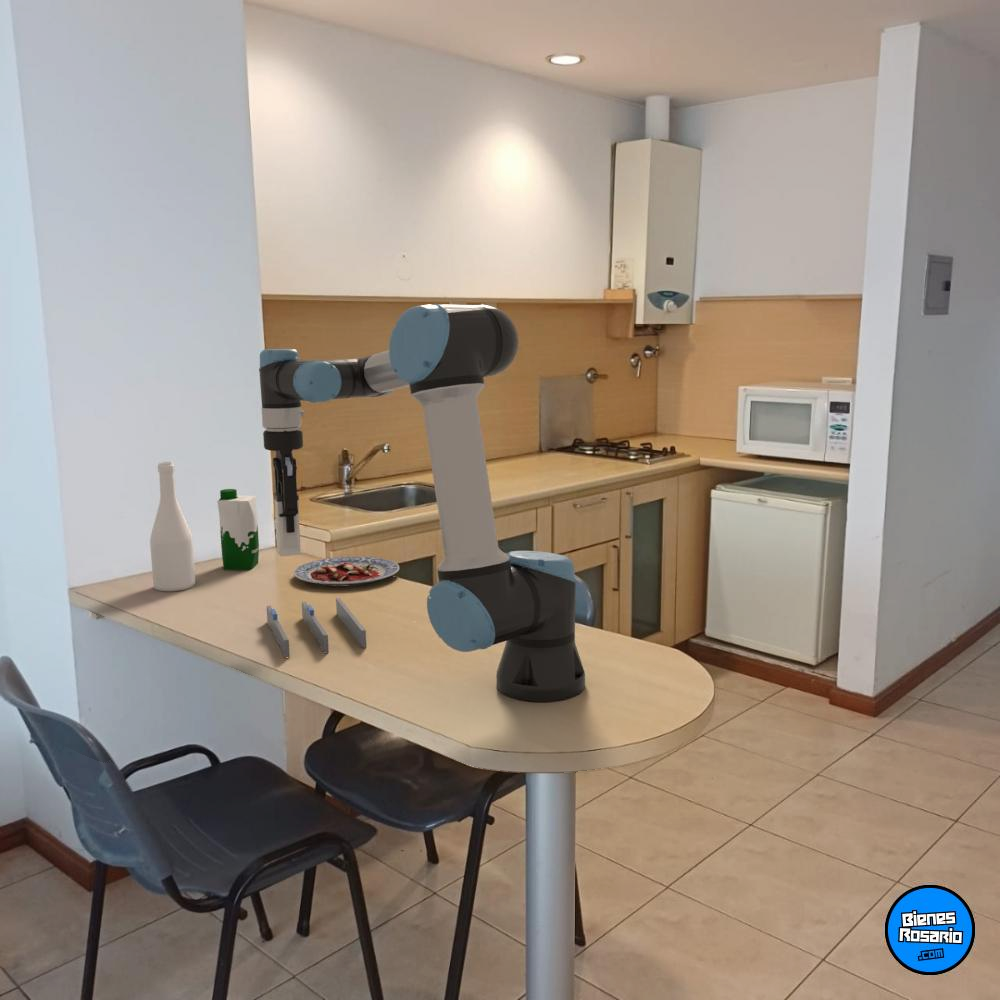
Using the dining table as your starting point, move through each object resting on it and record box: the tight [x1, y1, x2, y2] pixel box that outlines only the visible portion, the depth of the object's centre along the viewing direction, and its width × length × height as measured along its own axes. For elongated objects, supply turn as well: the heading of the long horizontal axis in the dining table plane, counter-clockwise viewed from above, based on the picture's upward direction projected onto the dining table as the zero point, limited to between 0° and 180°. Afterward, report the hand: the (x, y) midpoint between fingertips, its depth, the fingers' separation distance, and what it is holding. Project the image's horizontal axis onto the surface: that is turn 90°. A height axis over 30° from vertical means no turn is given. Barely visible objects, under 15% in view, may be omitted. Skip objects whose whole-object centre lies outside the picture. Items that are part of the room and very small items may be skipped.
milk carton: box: [217, 488, 260, 571], centre depth 247 cm, size 9×9×20 cm
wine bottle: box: [149, 461, 196, 592], centre depth 227 cm, size 10×10×30 cm
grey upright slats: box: [266, 597, 367, 658], centre depth 193 cm, size 24×15×4 cm, turn 21°
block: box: [273, 492, 302, 557], centre depth 192 cm, size 4×4×12 cm
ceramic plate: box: [292, 556, 400, 586], centre depth 238 cm, size 26×26×3 cm
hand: (288, 545), depth 193 cm, fingers closed on block, 4 cm apart
